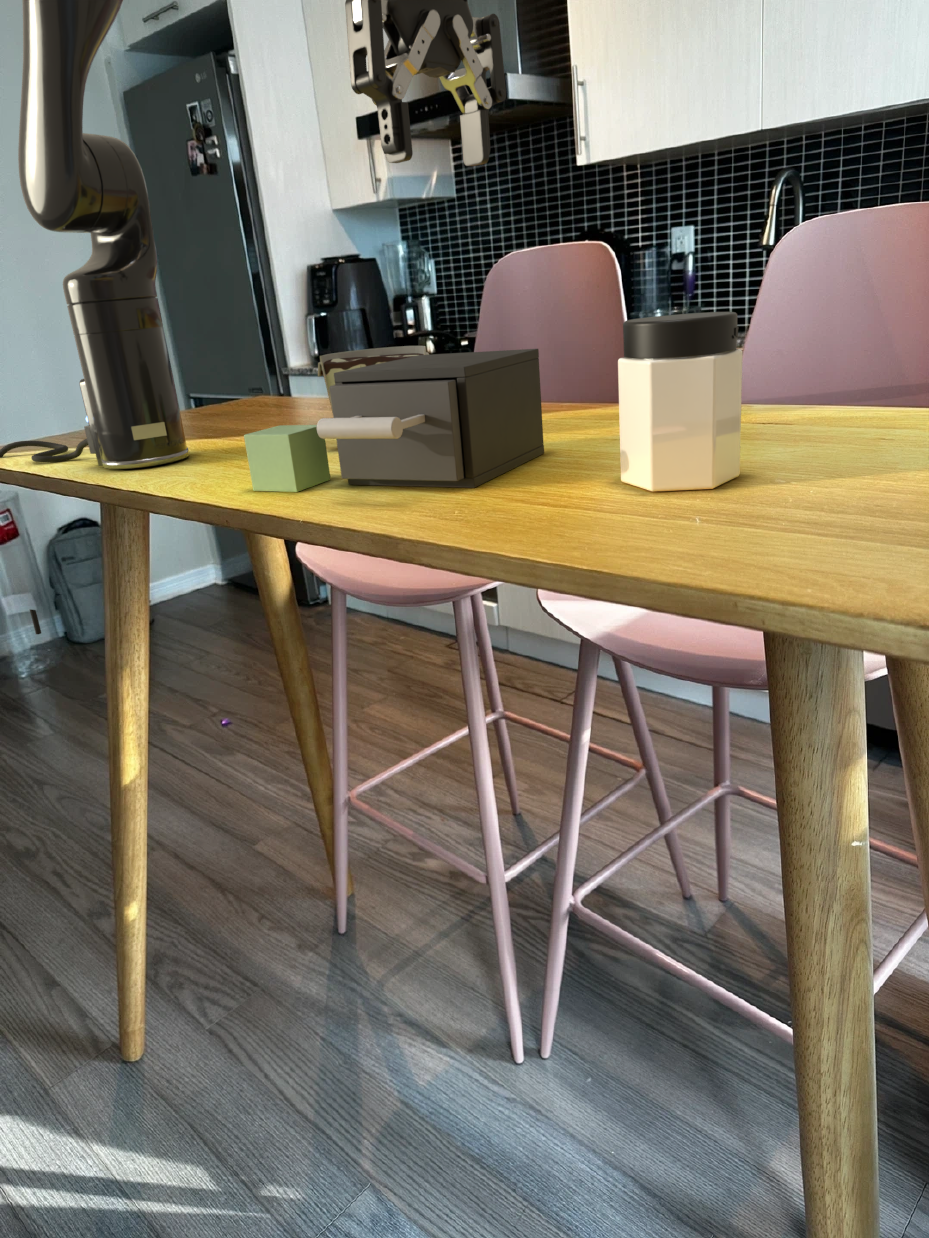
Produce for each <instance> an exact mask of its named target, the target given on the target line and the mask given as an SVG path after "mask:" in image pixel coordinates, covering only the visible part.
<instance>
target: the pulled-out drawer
mask: <svg viewBox="0 0 929 1238" xmlns="http://www.w3.org/2000/svg"><path fill="white" fill-rule="evenodd" d="M329 389H330V396H331V403H332V409H331V412H332V411H333V413H332V417H322V418H320V419H319V420H318V421H317V424H316V425H317V433H318V435H319V437H320V438H322V439H325V440H336V445H337V446H336V447H337V453H338V461H339V469H340V475H341V476H340V477H341V479H342V480H348V479H375V480H422V481H459V480H461V479H463V478H464V472H463V471H465V464H464V453H463V441H462V430H461V418H460V407H459V395H458V384H457V378H433V379H409V380H385V381H367V382H362V383H358V384H337V385H333V386H330V387H329Z"/></svg>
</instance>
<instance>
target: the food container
mask: <svg viewBox="0 0 929 1238" xmlns="http://www.w3.org/2000/svg"><path fill="white" fill-rule="evenodd" d="M419 355H430V353H429V352H428V351H427V348H426V346H425V345H404V346H403V345H402V346H388V347H387V346H386V347H377V348H367V349H356V350H349V351H341V352H340V351H339V352H334V353H327V354H323V355H319V362H317V377H319V378H320V377H322V376H323V379H324V383H325V387H326V391H327V397H328V400H329V405H330V409H331V414H333V411H332V403H331V396H330V389H329V387H330V386H333V385H335V383H336V382H335V379H334V373H336V372H341V371H346V370H350V369H355V368H360V367H365V366H370V365H375V364H380V363H385V362H390V361H394V360H399V359H404V358H409V357H414V356H419Z"/></svg>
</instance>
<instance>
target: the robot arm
mask: <svg viewBox="0 0 929 1238" xmlns="http://www.w3.org/2000/svg"><path fill="white" fill-rule="evenodd" d="M124 1H125V0H21V2H22V75H21V76H22V77H21V92H20V109H19V126H18V127H19V128H18V147H17V148H18V149H17V151H18V152H17V153H18V156H17V157H18V158H17V159H18V162H17V163H18V174H19V175H18V176H19V177H18V178H19V183H20V189H21V193H22V198H23V200H24V204H25V205H26V208H27V210H28V212H29V214H30V215H31V217H32V219H33V220H34V221H35V222H36V223H37V224H38V225H39V226H40V227H42V228H43V229H44V230H47V231H50V232H56V233H67V234H90V239H91V240H90V241H91V255H90V257H89V258H88V260H86V262H85V263H84V264H83V265H82V266H80V267H79V268H77V269H75V270H73V271H71V272H69V273H68V274H67V275H65V276H64V277H63V279H62V289H63V294H64V298H65V299H64V300H65V303H66V305H67V310H68V315H69V320H70V325H71V329H72V333H73V337H74V341H75V345H76V349H77V355H78V359H79V363H80V368H81V372H82V377H83V378H81V379H80V380H79V389H80V393H81V397H82V403H83V406H84V410H85V415H86V417H85V421H86V422H87V423H88V425H84V427H83V428H84V432H85V436H86V438H84V439H83V440H81V441H80V442H79V443H77V446H76V448H75V450H74V451H72V452H69V453H66V452H68V451H69V446H67V445H65V444H62V443H56V442H52V441H51V442H50V441H44V440H19V441H14V442H10V443H8V444H6V445H4V446H3V447H1V448H0V459H2V458H3V457H4V456H5V455H6V454H7V453H8V452H10V451H11V450H14V449H18V448H23V447H24V448H25V447H39V448H41V447H42V448H47V449H49V450H45V451H41V452H38V453H35V454H33V455H31V460H32V462H34V463H58V462H65V461H66V462H67V461H71V460H75V459H77V458H79V457H80V456H81V455H82V453H83V451H84V449H85V448H86V447H87V446H88V450H89V453H90V454H91V455H95V458H96V463H97V466H98V467H103V468H104V469H109V470H128V469H140V468H149V467H154V466H161V465H165V464H170V463H174V462H178V461H182V460H184V459H187V458H188V457H189V456H190V451H189V447H188V445H187V441H186V435H185V431H184V426H183V418H182V413H181V409H180V404H179V400H178V399H179V398H178V394H177V389H176V384H175V379H174V374H173V369H172V363H171V359H170V354H169V348H168V343H167V337H166V335H165V334H166V333H165V328H164V324H163V318H162V313H161V308H160V303H159V298H158V292H157V286H156V280H157V273H158V255H157V248H156V241H155V234H154V228H153V227H154V226H153V220H152V212H151V206H150V198H149V193H148V188H147V183H146V179H145V176H144V172H143V169H142V166H141V164H140V162H139V160H138V158H137V157H136V154H135V153H134V151H133V150H132V149H131V148H130V146H129V145H127V143H126V142H124V141H122V140H121V139H120V138H117V137H115V136H109V135H103V134H96V133H86V132H83V130H84V129H83V128H84V127H83V126H84V125H83V124H84V123H83V122H84V121H83V119H84V103H85V92H86V85H87V81H88V77H89V73H90V70H91V67H92V64H93V63H94V60H95V58H96V56H97V54H98V52H99V50H100V49H101V47H102V45H103V43H104V41H105V40H106V38H107V36H108V35H109V32H110V31H111V29H112V26H113V24H114V23H115V21H116V19H117V17H118V15H119V13H120V11H121V9H122V7H123V4H124ZM344 7H345V22H346V34H347V48H348V49H347V50H348V63H349V74H350V75H349V76H350V86H351V89H352V91H353V92H354V93H355V94H356V95H362V94H364V96H365V95H366V96H367V97H368V98H369V99H371V101H372V104H374V105H375V106H376V108H377V118H378V127H379V128H378V129H379V136H380V146H381V149H382V152H383V155H385V159H386V161H387V163H389V164H400V163H405V162H409V161H411V159H412V158H413V154H414V152H413V142H412V133H411V130H412V129H411V121H410V111H409V102H406V101H403V99H404V98H405V96H406V94H407V92H408V89H409V86H410V84H411V82H412V79H413V78H414V76H416V75H420V74H423V75H426V76H427V77H429V78H435V79H439V82H440V83H441V85H442V87H443V88H444V89H445V90H446V91H449V92H450V93H451V94H452V96H453V98H454V100H455V102H456V104H457V106H458V109H459V110H460V111H461V114H460V115H459V122H460V124H459V125H460V135H461V148H462V160H463V165H465V166H466V167H476V166H481V165H486V164H488V162H489V160H490V154H491V135H490V120H489V119H490V118H489V111H490V109H492V107H493V106H495V105H496V104H498V103H502V102H505V100H506V99H507V88H506V87H507V86H506V77H505V75H506V74H505V65H504V57H503V56H504V55H503V46H502V45H503V44H502V34H501V23H500V19H499V17H498V15H497V14H495V13H491V14H487V15H485V16H482V17H477V16H472V15H473V14H472V13H471V10H470V7H469V2H468V0H345V3H344ZM384 33H385V34H386V37H387V38H388V39H387V40H388V41H387V43H386V46H385V40H384ZM461 63H462V65H463V66H464V67H462V68H459V67H460V65H461ZM458 68H459V69H458ZM488 71H489V76H490V77H489V78H490V86H489V87H488V84H487V83H488V82H487V72H488ZM467 86H468V87H469V89H470V91H471V93H472V94H470V92H469V91H468V88H467ZM64 453H66V454H64ZM29 613H30V617H31V621H32V625H33V629H34V632H35V635H41V634H42V629H41V625H40V622H39V618H38V614H37V610H36V609H29Z"/></svg>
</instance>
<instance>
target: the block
mask: <svg viewBox="0 0 929 1238" xmlns="http://www.w3.org/2000/svg"><path fill="white" fill-rule="evenodd" d="M243 439H244V444H245V445H244V446H245V450H246V455H247V456H246V457H247V462H248V468H249V474H250V480H251V485H252V490H253V491H254V492H279V493H280V492H282V493H283V492H285V493H298V492H301V491H304V490H306V489H309V488H313V487H315V486H318V485H320V484H323V483H325V482H328V481H331V478H332V477H331V473H330V472H331V471H330V465H329V457H328V450H327V442H326V439H322V438H320V437H319V435H318V433H317V424H289V425H288V424H284V425H283V424H281V425H277V426H272V427H268V428H264V429H261V430H256V431H254V432H249V433H246V434H244V435H243Z"/></svg>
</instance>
